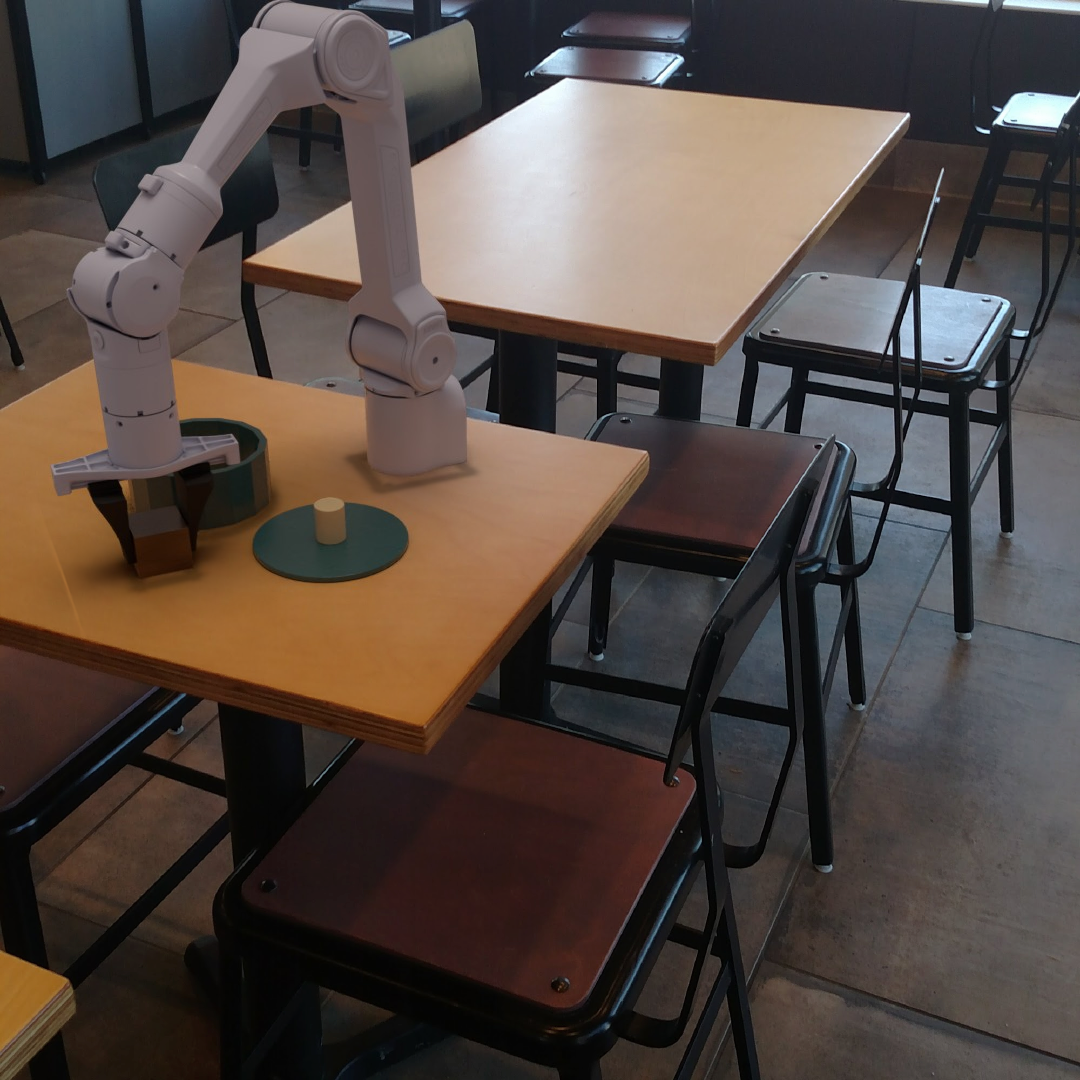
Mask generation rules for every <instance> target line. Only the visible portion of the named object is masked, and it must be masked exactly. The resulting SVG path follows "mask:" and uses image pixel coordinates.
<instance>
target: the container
mask: <svg viewBox="0 0 1080 1080" xmlns="http://www.w3.org/2000/svg"><path fill="white" fill-rule="evenodd" d="M179 424H180V432H181V437H199V436H219V435H227V434H232V435H233V436H234V437H235V439H236V440H237V442H238V445H239V455H240V463H239V464H234V465H227V464H226V462H225V463H219V464H214V465H210V470H211V472H212V474H213V475H214V488H213V491H212V492H211V494H210V496H209V498H208V500H207V502H206V505H205V507H204V510H203V513H202V516H201V520H200V524H199V529H198V531H209V530H213V529H218V528H224V527H228V526H233V525H236V524H238V523H241V522H243V521H245V520H248V519H251V518H252V517H255V516H257V515H258V514H259V513H260V512H261V511H262V510H264V508H265V507H267V506H268V505H269V504H270V502H271V498H272V497H271V496H272V492H273V488H272V477H271V466H270V465H271V463H270V455H269V442H268V438H267V437H266V436H265V434H264V433H263V432H262V430H261V429H260V428H258V427H256V426H254V425H251V424H249V423H247V422H245V421H243V420H241V421H240V420H235V419H231V418H230V419H229V418H223V417H192V418H186V419H179ZM127 484H128V491H129V497H130V505H131V507H132V509H133V512H134V513H137V512H143V511H148V510H153V509H158V508H163V507H169V506H174V505H176V506H177V508H178V510H179V502H178V496H177V490H176V485H175V479H174V474H173V472H172V473H169V474H166V475H163V476H159V477H154V478H144V479H131V480H127Z"/></svg>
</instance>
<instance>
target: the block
mask: <svg viewBox="0 0 1080 1080" xmlns="http://www.w3.org/2000/svg"><path fill="white" fill-rule="evenodd" d="M128 519H129V528H130V534H131V539H132V543H133V547H134V552H135V561H136V563H134V564H133V566H134V568H135V572H136V573H137V575H138V577H139V579H140V580H142V579H147V578H152V577H156V576H161V575H167V574H171V573H175V572H180V571H185V570H189V569H194V560H193V551H192V552H191V544H190V536H189V529H188V526H187V524H186V523H185V521H184V519H183V517H182V515H181V513H180V512H179V510H178V508H177V506H176V505H174V506H169V507H163V508H158V509H153V510H148V511H143V512H137V513H135V512H133V513H128Z"/></svg>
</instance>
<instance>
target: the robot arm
mask: <svg viewBox="0 0 1080 1080" xmlns="http://www.w3.org/2000/svg"><path fill="white" fill-rule="evenodd" d="M390 47H391V46H390V39H389V32H388V30H387V29H386V28H384V27H383V26H381V25H380V24H379V23H378V22H376V21H374V19H372V18H370V17H369V16H368V15H367V14H365V13H364V12H362V11H359V10H353V9H344V10H341V9H334V8H330V7H329V8H328V7H322V6H317V5H316V6H315V5H309V4H302V3H297V2H295V1H292V0H272V1H270V2H268V3H266V4H265V5H264V6H263V7H262V8H261V9H260V10H259V11H258V13H257V14H256V16H255V18H254V20H253V23H252V25H251V26H250V27H249V28H248V29H247V30H246V31H245V32H244V33H243V34H242V36H241V37H240V40H239V48H238V52H239V53H238V60H237V63H236V65H235V67H234V68H233V71H232V72H231V74H230V76H229V77H228V79H227V81H226V83H225V85H224V86H223V88H222V89H221V92H220V93H219V95H218V96H217V98H216V100H215V102H214V104H213V105H212V107H211V109H210V111H209V112H208V114H207V116H206V118H205V119H204V121H203V122H202V124H201V126H200V128H199V129H198V131H197V133H196V134H195V137H194V138H193V140H192V142H191V143H190V145H189V147H188V149H187V150H186V151H185V154H184V156H183V158H182V159H181V161H179V162H175V163H171V164H166V165H165V164H164V165H160V166H158V167H157V168H155V170H154V172H153V173H152V174H149V173H146V174H144V175H143V178H142V179H141V181H140V182H139V183H138V184H137V188H138V189H139V190H140V193H139V194H138V195H137V196H136V198H135V200H134V201H133V202H132V204H131V206H130V207H129V209H128V210H127V211H126V213H125V214H124V216H123V217H122V219H121V220H120V222H119V223H118V225H117V227H116V228H115V230H110V231H109V233H108V234H107V235H106V237H105V238H104V243H105V245H104V246H102V247H98V248H95V251H91V250H90V251H89V252H88V253H86V254H85V255H84V256H83V257H82V258H81V259H80V261H79V262H78V264H77V265H76V267H75V268H74V272H73V275H72V280H71V281H72V282H71V286H70V287H68V288H67V289H66V291H65V292H66V297H67V299H68V302H69V303H70V306H71V307H72V308H73V309H74V311H75V312H77V313H78V314H79V316H81V317H82V318H83V319H84V321H85V323H86V326H87V332H88V337H89V339H90V345H91V351H92V357H93V358H92V359H93V365H94V371H95V377H96V383H97V390H98V395H99V396H98V397H99V403H100V407H101V414H102V415H101V416H102V420H103V421H102V422H103V427H104V434H105V439H106V445H107V447H106V448H104V449H101V450H97V451H95V452H92V453H89V454H86V455H83V456H79V457H77V458H74V459H70V460H66V461H62V462H58V463H53V464H50V465H49V467H50V473H51V477H52V483H53V488H54V490H55V493H56V495H57V497H63V496H67V495H71V494H72V493H73V491H74V490H80V489H87V491H88V493H89V494H88V495H89V496H90V498H91V500H92V502H93V504H94V506H95V507H96V509H97V510H98V512H99V513H100V514H101V515H102V517H103V518H104V519H105V520H106V522H107V523H108V525H109V526H110V527H111V529H112V531H113V532H114V534H115V536H116V537H117V539H118V542H119V545H120V548H121V552H122V555H123V558H124V560H125V562H126V564H127V566H128V565H134V563H136V561H135V552H134V547H133V543H132V539H131V534H130V528H129V519H128V514H129V509H128V507H129V506H128V501H127V498H126V497H125V494H124V490H123V486H122V485H121V483H120V482H125V481H128V480H131V479H144V478H154V477H159V476H163V475H166V474H169V473H172V472H173V474H174V479H175V485H176V490H177V496H178V502H179V512H180V513H181V515H182V517H183V519H184V521H185V523H186V524H187V526H188V529H189V536H190V544H191V552H192V553H193V552H196V551H197V543H198V533H199V530H198V529H199V524H200V520H201V516H202V513H203V510H204V507H205V505H206V502H207V500H208V498H209V496H210V494H211V492H212V491H213V488H214V475H213V474H212V472H211V470H210V465H214V464H219V463H225V462H226V464H227V465H234V464H239V463H240V455H239V445H238V442H237V440H236V439H235V437H234V436H233V435H232V434H227V435H219V436H199V437H181V432H180V424H179V420H180V416H179V410H178V401H177V396H176V395H177V394H176V388H175V387H176V386H175V379H174V371H173V361H172V355H171V346H170V339H169V330H168V326H169V324H170V323H171V321H173V320H174V319H175V318H176V317H177V314H178V313H179V310H180V305H181V287H182V284H183V282H184V281H185V279H186V277H184V276H185V274H186V270H187V268H188V267H189V265H190V264H191V262H192V261H193V259H194V258H195V257H196V255H197V253H198V252H199V250H200V249H201V247H202V246H203V244H204V243H205V241H206V240H207V239H208V237H209V235H210V233H211V232H212V231H213V229H214V228H215V227H216V225H217V223H218V222H219V220H220V219H221V217H222V216H223V212H224V210H223V209H224V207H223V202H222V196H221V189H222V187H223V186H224V185H225V184H226V182H227V181H228V180H229V178H230V177H231V176H232V175H233V173H234V172H235V170H236V169H237V168H238V166H240V164H241V163H242V162H243V160H245V157H247V155H248V154H249V153H250V152H251V150H252V149H253V147H254V146H255V145H256V144H257V142H258V141H259V140H260V139H261V137H262V136H263V135H264V133H265V132H266V131H267V129H268V128H269V127H270V125H272V123H273V121H274V120H275V119H276V118H277V117H278V116H279V114H281V113H282V112H286V111H291V110H296V109H300V108H306V107H312V106H316V105H321V104H324V105H326V106H327V107H329V108H330V109H332V110H333V111H334V112H336V113H337V114H338V115H339V116H340V120H341V129H342V136H343V144H344V152H345V159H346V160H345V161H346V167H347V176H348V178H347V179H348V185H349V192H350V200H351V208H352V217H353V223H354V224H353V225H354V234H355V241H356V249H357V257H358V266H359V273H360V274H359V275H360V280H361V282H360V283H361V289H360V290H358V291H357V292H356V293H355V294H354V295H353V296H352V297H351V298H350V299H349V300H348V302H347V307H348V324H347V328H346V331H345V338H344V346H345V347H344V348H345V351H346V354H347V357H348V359H349V360H350V362H352V363H353V364H354V365H355V366H357V367H358V373H359V374H358V376H359V379H361V380H363V389H364V391H363V393H364V410H365V411H364V412H365V413H364V415H365V432H366V453H367V464H368V465H369V467H370V468H371V469H373V470H375V471H377V472H378V473H382V474H385V475H389V476H396V477H398V476H399V477H406V476H415V475H421V474H425V473H428V472H430V471H434V470H436V469H439V468H443V467H449V466H454V465H458V464H463V463H466V462H467V461H468V458H467V457H468V444H467V443H468V441H467V440H468V438H467V437H468V435H467V434H468V432H467V431H468V430H467V429H468V423H467V422H468V421H467V420H468V419H467V418H468V417H467V412H468V411H467V403H466V397H465V394H464V391H463V388H462V385H461V383H460V382H459V380H458V379H457V377H456V376H454V375H453V374H452V373H453V371H454V368H455V366H456V362H457V357H458V355H457V354H458V352H457V351H458V350H457V342H456V339H455V336H454V335H453V333H452V331H451V330H450V327H449V325H448V319H447V311H446V309H445V307H443V305H442V304H441V302H440V301H438V299H437V298H436V297H435V296H434V295H433V294H432V292H430V290H429V289H428V288H427V286H426V285H424V283H423V279H422V271H421V270H422V269H421V259H420V248H419V238H418V229H417V218H416V207H415V206H416V205H415V197H414V188H413V187H414V186H413V176H412V175H413V174H412V165H411V155H410V145H409V144H410V143H409V134H408V133H409V132H408V124H407V113H406V112H407V111H406V103H405V102H406V101H405V92H404V86H403V83H402V81H401V78H400V76H399V74H398V72H397V70H396V68H395V66H394V64H393V61H392V58H391V49H390Z"/></svg>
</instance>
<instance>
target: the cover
mask: <svg viewBox="0 0 1080 1080" xmlns="http://www.w3.org/2000/svg"><path fill="white" fill-rule="evenodd" d="M409 536H410V535H409V531H408V529H407V526H406V525H405V523H404V522H403V521H402V520H401V519H400V518H398V517H397V516H396V515H394V514H393V513H391V512H389V511H387V510H385V509H382V508H379V507H376V506H373V505H369V504H363V503H357V502H347V501H344V500H343V499H341V498H338V497H331V496H329V497H322V498H319V499H318V500H316V501H315V502H314V503H313V504H307V505H301V506H297V507H294V508H291V509H288V510H285V511H283V512H281V513H279V514H277V515H275V516H273V517H271V518H270V519H268V520H267V521H265V522H264V523H263V524H261V526H259V528H258V529H257V531H256V532H255V533H254V536H253V538H252V552H253V555H254V558H255V559H256V560H257V561H258V562H259V564H260V565H261V566H262V567H263V568H265V569H266V570H268V571H270V572H272V573H273V574H276V575H278V576H281V577H283V578H287V579H290V580H295V581H302V582H309V583H338V582H346V581H352V580H357V579H362V578H364V577H365V578H366V577H368V576H369V577H370V576H372V575H374V574H377V573H379V572H381V571H384V570H385V569H387V568H389V567H391V566H393V565H394V564H395V563H396V562H398V561H399V560H400V559H401V558H402V557H403V556H404V554H405V553H406V551H407V549H408V546H409V541H410V539H409V538H410V537H409Z"/></svg>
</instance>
